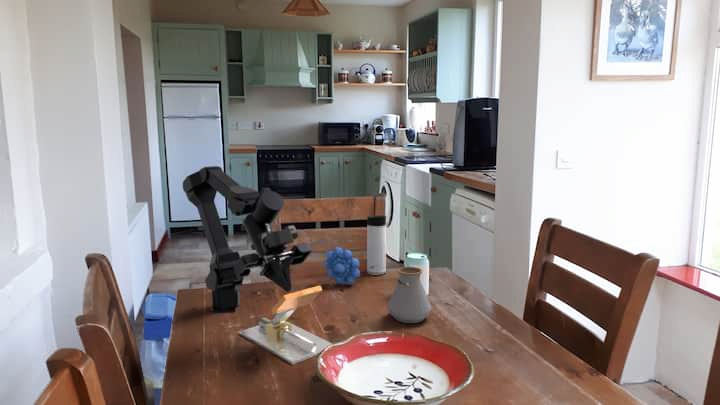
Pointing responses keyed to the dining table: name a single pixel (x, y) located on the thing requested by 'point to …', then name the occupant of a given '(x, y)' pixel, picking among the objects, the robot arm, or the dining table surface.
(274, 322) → the valve lever
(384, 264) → the travel mug
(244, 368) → the dining table surface
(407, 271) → the coffee pot
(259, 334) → the valve body
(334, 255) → the blue bumpy rounded lump
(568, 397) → the dining table surface
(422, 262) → the can
